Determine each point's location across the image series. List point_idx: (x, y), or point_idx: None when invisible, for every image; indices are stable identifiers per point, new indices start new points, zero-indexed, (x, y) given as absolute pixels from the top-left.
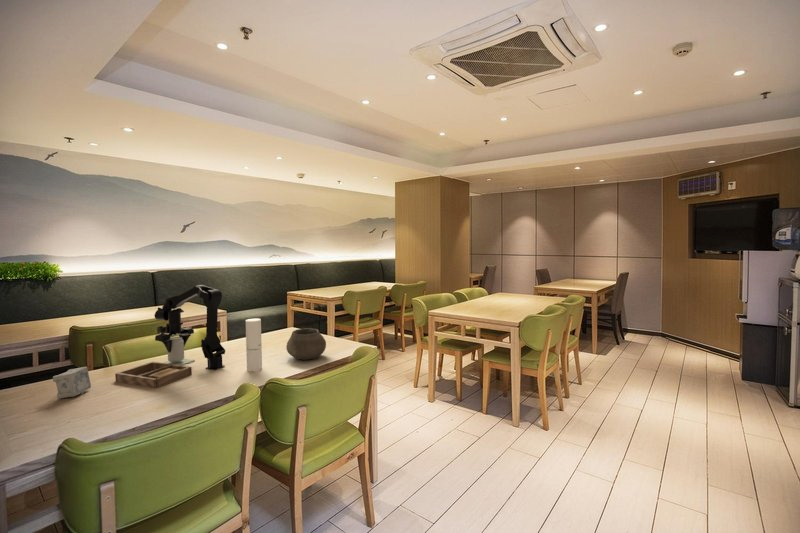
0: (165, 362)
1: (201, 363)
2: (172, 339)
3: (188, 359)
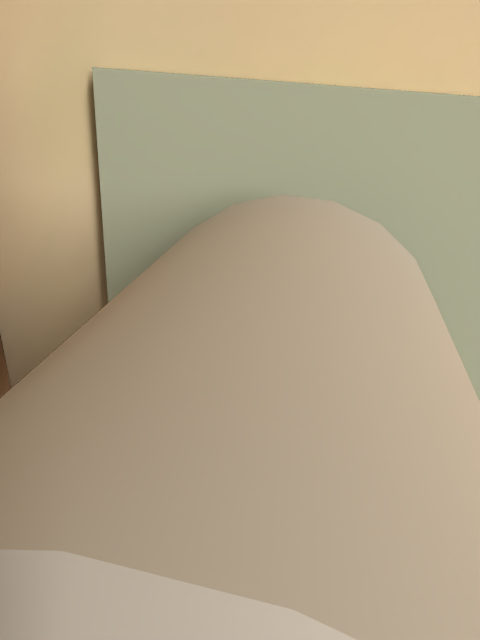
0: (239, 116)
1: None
2: None
3: (477, 394)
